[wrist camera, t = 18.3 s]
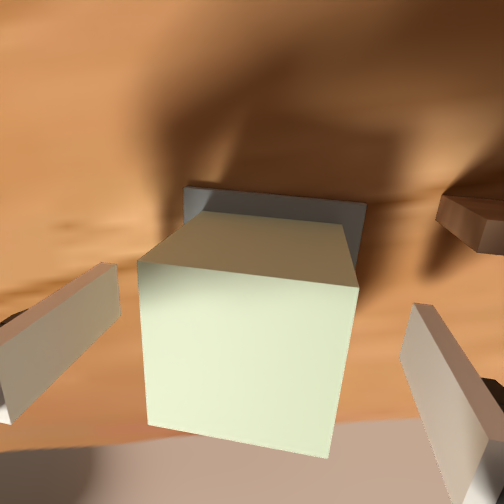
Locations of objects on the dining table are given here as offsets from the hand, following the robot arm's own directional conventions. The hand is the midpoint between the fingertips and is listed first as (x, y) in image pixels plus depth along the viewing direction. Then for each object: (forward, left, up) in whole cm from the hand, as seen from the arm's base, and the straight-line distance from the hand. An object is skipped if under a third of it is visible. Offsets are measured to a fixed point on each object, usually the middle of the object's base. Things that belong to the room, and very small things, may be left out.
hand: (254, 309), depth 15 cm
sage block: (0, 0, -3) cm, 3 cm away
